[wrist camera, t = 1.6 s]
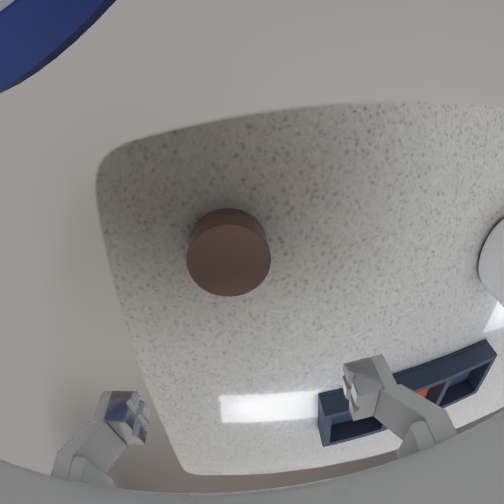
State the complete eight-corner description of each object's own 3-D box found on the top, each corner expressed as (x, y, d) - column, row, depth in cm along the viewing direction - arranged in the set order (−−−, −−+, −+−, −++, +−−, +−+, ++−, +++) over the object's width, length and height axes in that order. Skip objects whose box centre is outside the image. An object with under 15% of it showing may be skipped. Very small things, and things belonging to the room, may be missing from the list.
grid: (318, 393, 30) (324, 416, 27) (485, 339, 30) (497, 354, 27) (318, 427, 34) (322, 447, 31) (467, 377, 34) (476, 392, 31)
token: (182, 216, 20) (177, 232, 17) (260, 202, 20) (264, 216, 17) (200, 280, 22) (198, 302, 20) (270, 268, 22) (275, 289, 20)
